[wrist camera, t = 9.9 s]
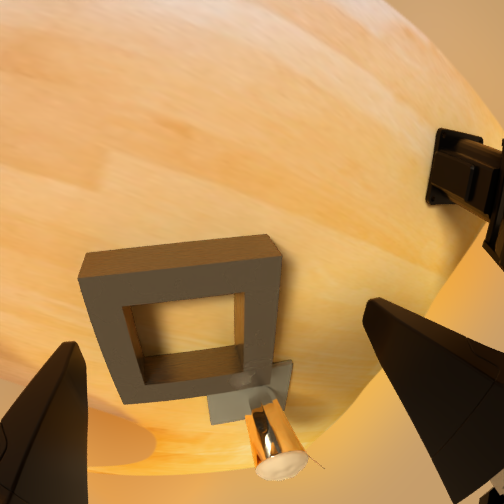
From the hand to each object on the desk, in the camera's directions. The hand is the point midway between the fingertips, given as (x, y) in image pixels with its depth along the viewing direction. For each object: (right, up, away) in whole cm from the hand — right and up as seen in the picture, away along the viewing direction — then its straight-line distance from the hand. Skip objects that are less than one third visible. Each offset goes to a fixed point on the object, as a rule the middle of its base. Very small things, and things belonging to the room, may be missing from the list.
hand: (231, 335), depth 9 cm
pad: (0, -11, +21) cm, 24 cm away
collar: (-4, -2, +14) cm, 15 cm away
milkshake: (+1, -11, +21) cm, 23 cm away
